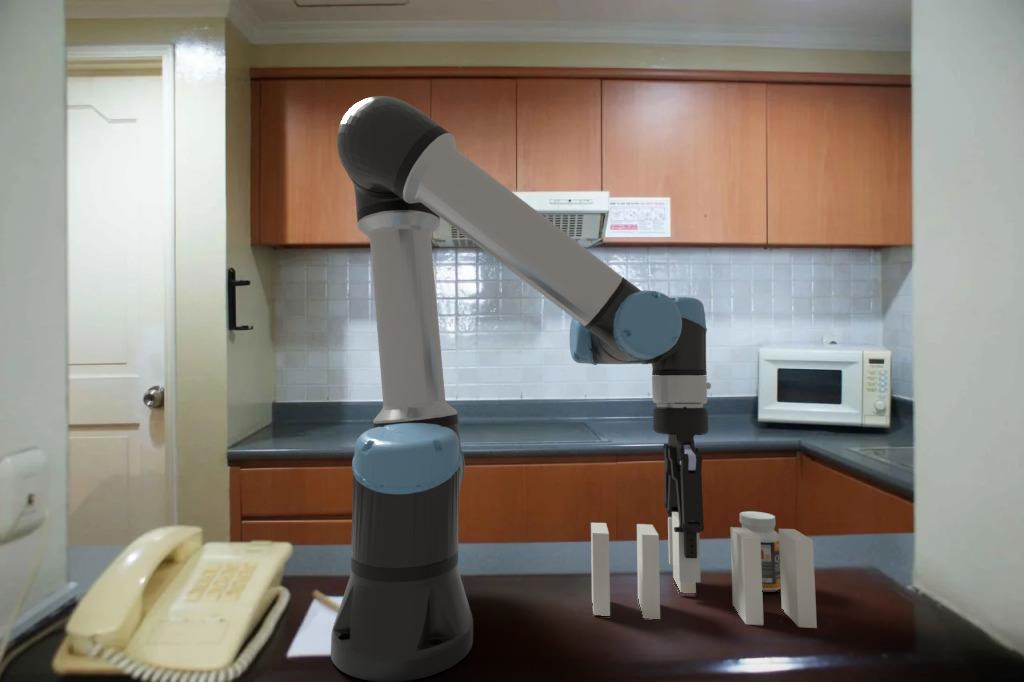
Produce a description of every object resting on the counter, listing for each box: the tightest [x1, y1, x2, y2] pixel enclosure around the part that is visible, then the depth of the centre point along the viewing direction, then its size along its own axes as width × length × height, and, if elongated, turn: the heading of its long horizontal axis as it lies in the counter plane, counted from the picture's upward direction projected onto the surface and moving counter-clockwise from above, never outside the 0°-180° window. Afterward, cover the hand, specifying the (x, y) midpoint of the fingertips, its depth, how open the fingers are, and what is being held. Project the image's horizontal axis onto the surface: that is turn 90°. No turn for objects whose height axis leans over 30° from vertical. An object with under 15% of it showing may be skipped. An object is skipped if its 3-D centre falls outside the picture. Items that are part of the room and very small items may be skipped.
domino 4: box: [730, 526, 765, 626], centre depth 65 cm, size 2×5×10 cm, turn 174°
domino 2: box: [636, 523, 661, 620], centre depth 66 cm, size 2×5×10 cm, turn 174°
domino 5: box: [778, 528, 818, 629], centre depth 64 cm, size 2×5×10 cm, turn 174°
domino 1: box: [590, 522, 611, 617], centre depth 67 cm, size 2×5×10 cm, turn 174°
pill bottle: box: [739, 510, 781, 590], centre depth 74 cm, size 6×6×10 cm
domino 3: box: [672, 512, 697, 594], centre depth 73 cm, size 2×5×10 cm, turn 174°
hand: (683, 571), depth 72 cm, fingers open, 6 cm apart
